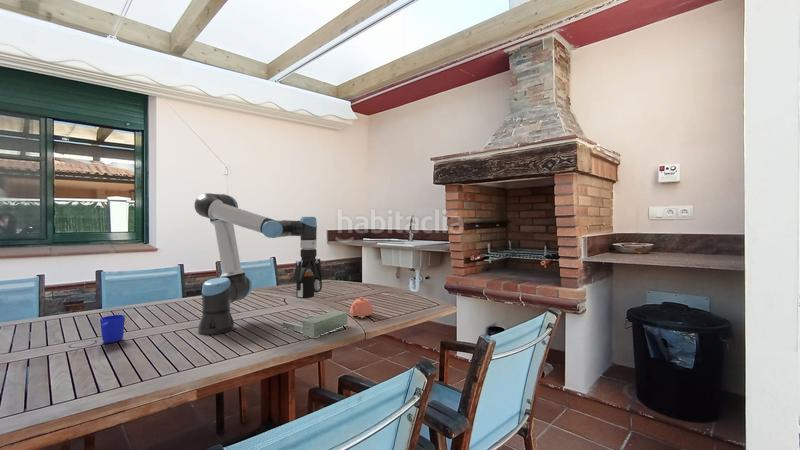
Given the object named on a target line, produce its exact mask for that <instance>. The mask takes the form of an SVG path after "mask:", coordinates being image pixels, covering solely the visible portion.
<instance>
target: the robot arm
mask: <svg viewBox="0 0 800 450" xmlns="http://www.w3.org/2000/svg"><path fill="white" fill-rule="evenodd" d="M194 210H195V212H196V213H197V214H198V215H199V216H201V217H203V218H207V219H209V220H210V221H209V223H210V224H212V225H213V227H214V231H215V237H216V242H217V248H218V253H219V261H220V265H221V270H222V271H221V272H222V273H221V275H220V276H219V277H216V278H210V279H208V280H206V281H204V282H203V283H202V289H201V300H202V301H201V302H202V303H201V308H202V310H201V311H202V312H201V313H202V314H201V317H200V319H199V323H198V326H197V333H198V334H200V335H206V336H207V335H219V334H225V333H229V332H230V331H232V330H234V329H235V321H234V319H233V316H232V313H231V304H232V303H234V302H237V301H241V300H243V299H245V298H247V297H248V296H249V294H251V292H252V289H253V282H252V280H251V279H250V278H249V276H246V271H245V270H243V269H242V267H241V261H240V260H241V259H240V255H239V250H238V244H237V243H238V242H237V238H236V232H235V226H234V225H236V226H238V227H242V228H244V229H248V230H252V231H253V232H257V233H259V234H263V236H265V237H266V238H271V239H276V238H284V237H300V257H301V259H300V260H296V261H295V269H294V274H293V278H292V283H295V284H296V283H297V290H298V297H303V283H301V282H302V280H303V277H304V275H305V274H306V273H307V271H308V269H310V270H311V274H314V278H316V277H319V278H320V279H321V280H322V279H323V278H324V276H323V275H324V274H323V270H322V265H321V262H322V261H321V259H320V258H316V257H317V249H316V248H317V244H318V243H317V234H318V233H317V231H318V229H317V228H318V224H317V218H316V217H315V216H301V217H300V219H299V220H287V219H283V220H276V219H272V218H269V217H267V216H264V215H260V214H257V213H255V212H251V211H248V210H245V209H242V208H239V204H238V202H237V200H236V198H234V197H232V196H231V195H228V194H224V193H209V192H208V193H207V192H206V193H202V194H200V195H199V196H197V198H196V199H195V201H194ZM314 288H315V290H316V291H318V290H319V289H320V280H319V279H316V280H315V282H314ZM314 294H320V291H319V292H314Z"/></svg>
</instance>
